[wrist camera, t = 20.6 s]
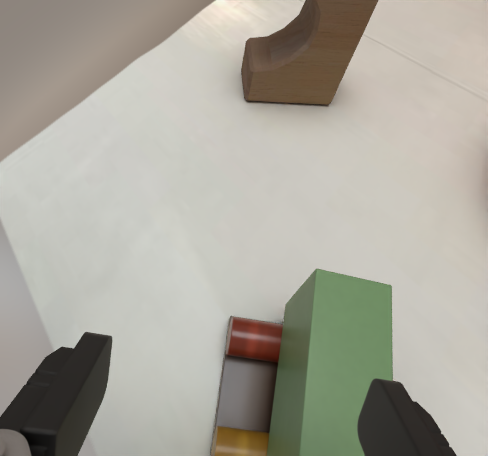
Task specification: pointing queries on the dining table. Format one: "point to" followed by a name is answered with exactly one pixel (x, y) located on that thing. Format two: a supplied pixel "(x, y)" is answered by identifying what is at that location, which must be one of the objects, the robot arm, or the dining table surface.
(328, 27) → the decorative block
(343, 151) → the dining table surface
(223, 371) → the rod rack
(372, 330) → the bar
